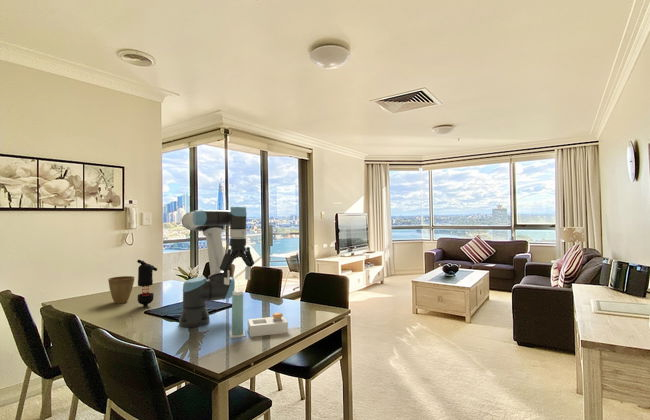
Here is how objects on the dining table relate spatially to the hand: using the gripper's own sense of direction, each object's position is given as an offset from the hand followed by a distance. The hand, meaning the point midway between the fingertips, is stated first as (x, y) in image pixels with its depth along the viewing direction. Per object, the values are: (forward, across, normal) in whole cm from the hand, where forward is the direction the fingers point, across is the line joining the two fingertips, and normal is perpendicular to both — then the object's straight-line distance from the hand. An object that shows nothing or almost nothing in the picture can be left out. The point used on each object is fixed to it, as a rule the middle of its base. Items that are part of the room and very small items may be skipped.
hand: (237, 281), depth 161 cm
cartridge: (+25, 0, 0) cm, 25 cm away
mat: (+25, 0, 0) cm, 25 cm away
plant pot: (+26, +2, +109) cm, 112 cm away
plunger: (+22, +15, -13) cm, 29 cm away
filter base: (+25, +11, -10) cm, 29 cm away
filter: (+26, +6, +85) cm, 89 cm away
